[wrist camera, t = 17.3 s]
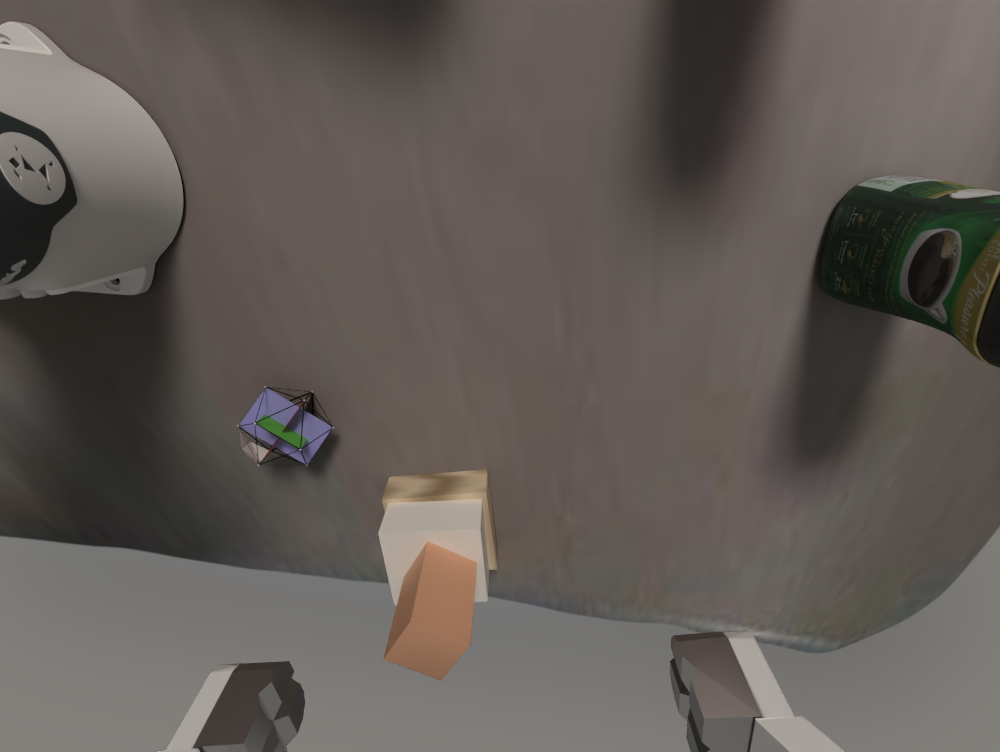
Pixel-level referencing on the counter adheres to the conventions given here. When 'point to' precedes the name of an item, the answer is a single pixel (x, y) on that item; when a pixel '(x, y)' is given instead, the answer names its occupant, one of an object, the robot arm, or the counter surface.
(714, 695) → the robot arm
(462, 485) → the tower base
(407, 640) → the pillar
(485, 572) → the tower top
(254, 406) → the geometric puzzle
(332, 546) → the counter surface
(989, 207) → the coffee jar
